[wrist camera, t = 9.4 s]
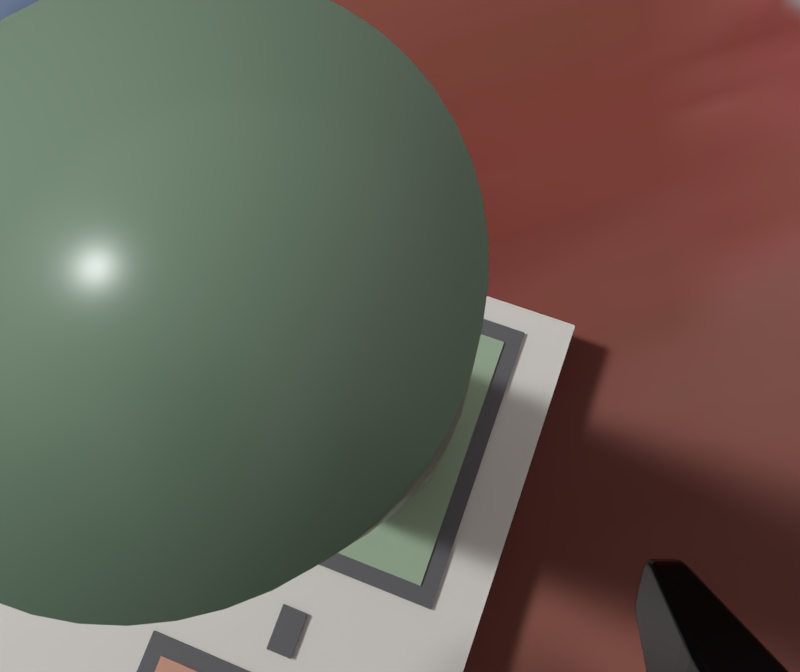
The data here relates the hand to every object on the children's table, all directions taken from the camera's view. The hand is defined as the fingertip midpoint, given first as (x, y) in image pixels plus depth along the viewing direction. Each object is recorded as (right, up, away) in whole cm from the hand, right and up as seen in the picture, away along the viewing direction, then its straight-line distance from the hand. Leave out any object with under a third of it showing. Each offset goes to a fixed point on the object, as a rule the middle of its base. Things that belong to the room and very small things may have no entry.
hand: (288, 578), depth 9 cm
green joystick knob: (+1, +1, +7) cm, 8 cm away
